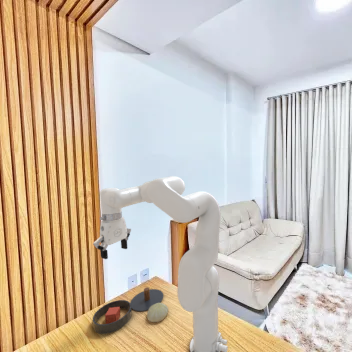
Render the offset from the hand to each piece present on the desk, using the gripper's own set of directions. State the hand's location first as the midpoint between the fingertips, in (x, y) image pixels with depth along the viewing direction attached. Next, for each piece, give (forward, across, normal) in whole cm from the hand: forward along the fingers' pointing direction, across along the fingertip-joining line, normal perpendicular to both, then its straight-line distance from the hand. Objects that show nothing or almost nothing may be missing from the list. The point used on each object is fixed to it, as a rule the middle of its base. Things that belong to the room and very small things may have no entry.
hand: (114, 253), depth 92 cm
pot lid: (+29, +11, -6) cm, 32 cm away
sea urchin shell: (+30, +6, -18) cm, 35 cm away
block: (+30, -4, -1) cm, 30 cm away
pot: (+30, -4, -1) cm, 30 cm away
